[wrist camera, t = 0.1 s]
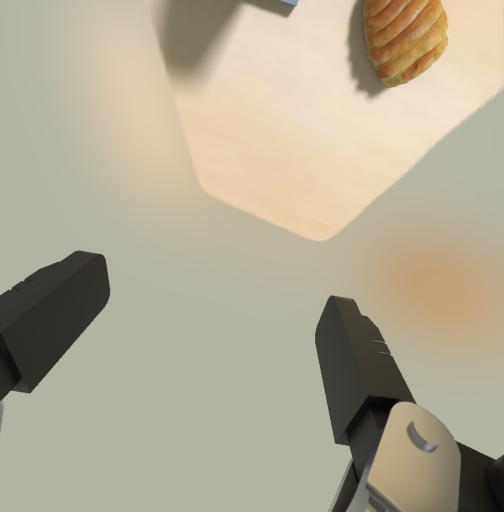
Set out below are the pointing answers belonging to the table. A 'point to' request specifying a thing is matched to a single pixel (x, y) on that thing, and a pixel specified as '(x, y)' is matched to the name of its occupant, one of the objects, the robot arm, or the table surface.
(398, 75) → the pastry
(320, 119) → the table surface
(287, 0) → the board
